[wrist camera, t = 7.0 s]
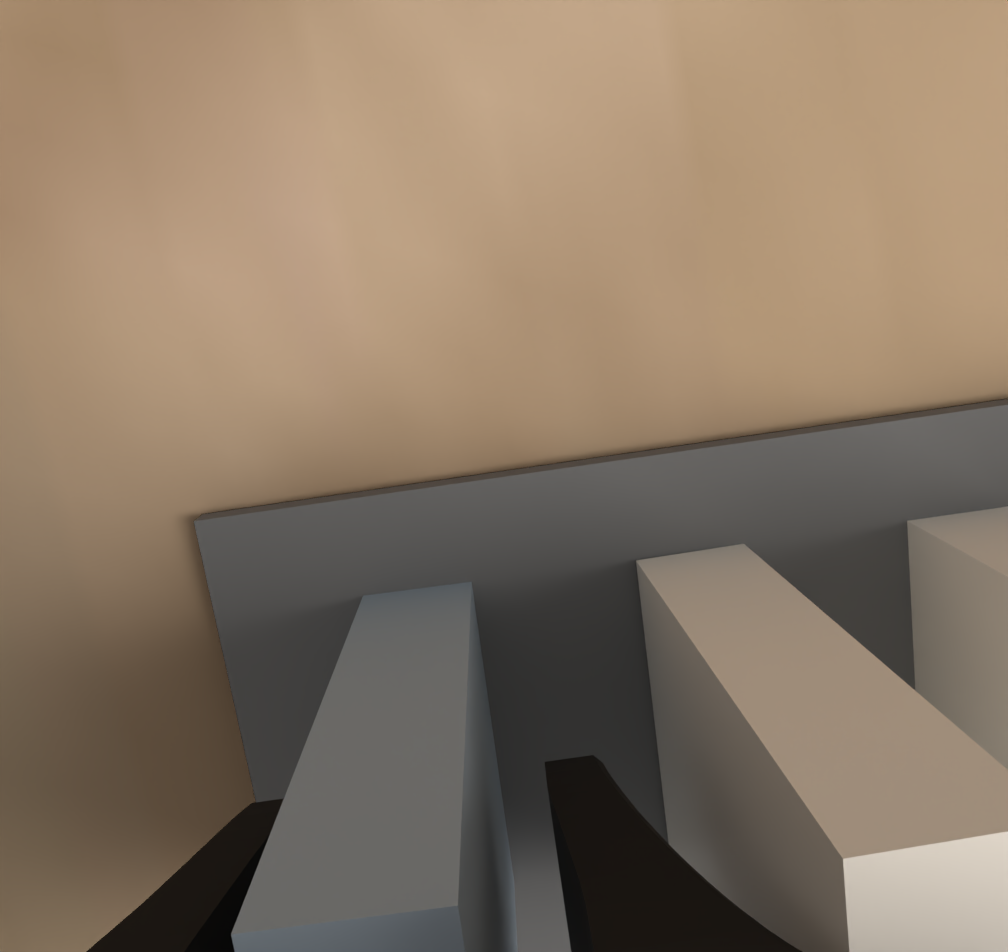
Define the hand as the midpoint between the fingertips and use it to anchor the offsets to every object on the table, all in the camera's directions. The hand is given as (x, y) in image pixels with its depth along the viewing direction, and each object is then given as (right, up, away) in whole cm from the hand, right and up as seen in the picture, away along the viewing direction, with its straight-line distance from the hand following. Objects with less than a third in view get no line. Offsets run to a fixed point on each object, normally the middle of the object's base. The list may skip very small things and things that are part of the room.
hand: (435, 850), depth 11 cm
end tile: (0, +1, +3) cm, 3 cm away
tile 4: (+4, +1, +2) cm, 5 cm away
